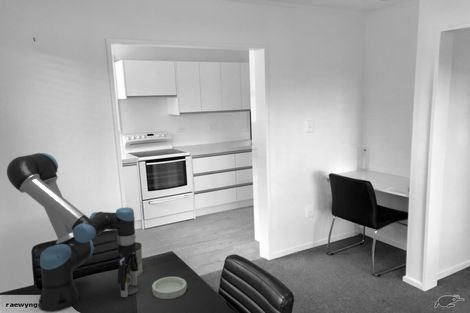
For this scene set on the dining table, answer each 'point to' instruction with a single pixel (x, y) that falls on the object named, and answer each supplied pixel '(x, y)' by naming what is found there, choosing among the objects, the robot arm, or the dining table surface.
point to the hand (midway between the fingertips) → (129, 290)
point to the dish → (169, 287)
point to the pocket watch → (130, 289)
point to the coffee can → (139, 259)
